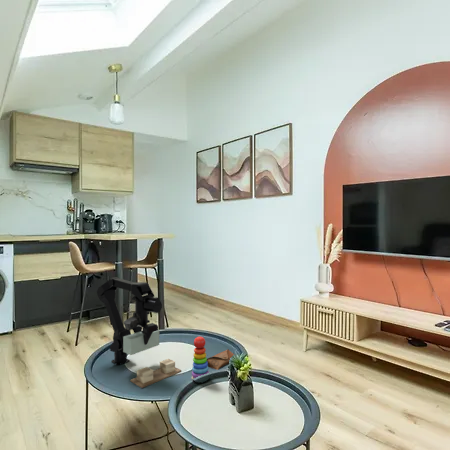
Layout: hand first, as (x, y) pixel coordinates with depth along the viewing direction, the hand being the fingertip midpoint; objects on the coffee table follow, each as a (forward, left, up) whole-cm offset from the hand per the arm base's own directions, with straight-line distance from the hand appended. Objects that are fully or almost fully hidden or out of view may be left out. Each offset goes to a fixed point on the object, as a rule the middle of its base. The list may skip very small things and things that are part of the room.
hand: (141, 342), depth 156 cm
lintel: (0, 0, -3) cm, 3 cm away
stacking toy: (+29, +11, -12) cm, 33 cm away
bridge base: (+12, 0, -12) cm, 17 cm away
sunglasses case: (+23, +31, -13) cm, 41 cm away
